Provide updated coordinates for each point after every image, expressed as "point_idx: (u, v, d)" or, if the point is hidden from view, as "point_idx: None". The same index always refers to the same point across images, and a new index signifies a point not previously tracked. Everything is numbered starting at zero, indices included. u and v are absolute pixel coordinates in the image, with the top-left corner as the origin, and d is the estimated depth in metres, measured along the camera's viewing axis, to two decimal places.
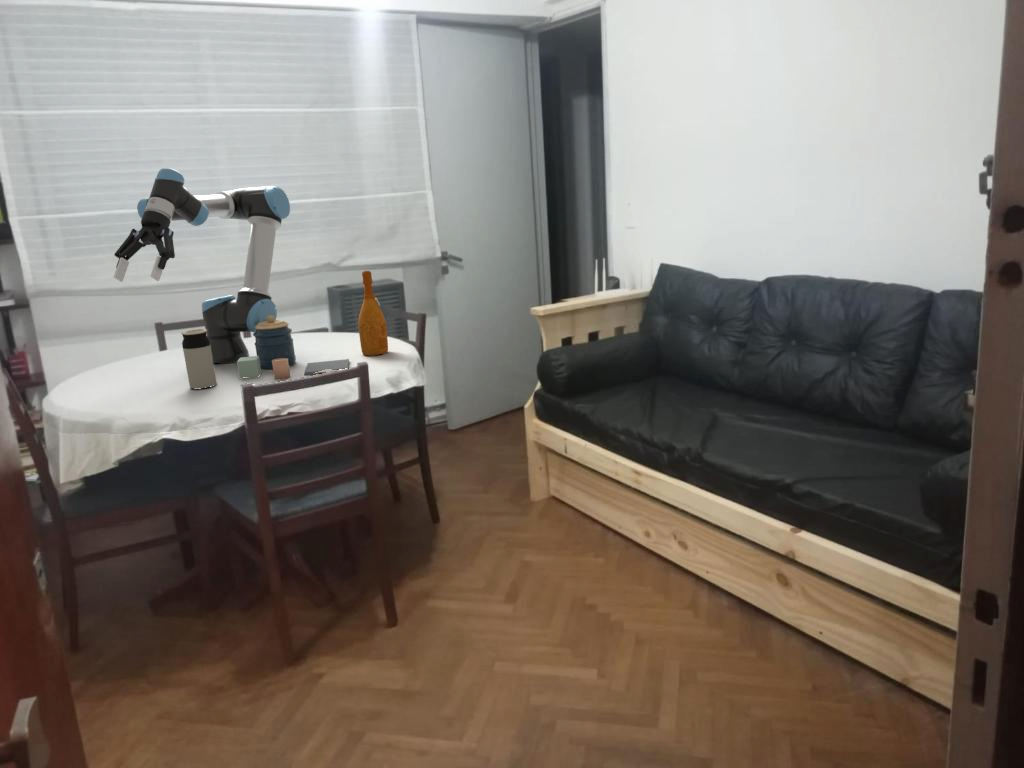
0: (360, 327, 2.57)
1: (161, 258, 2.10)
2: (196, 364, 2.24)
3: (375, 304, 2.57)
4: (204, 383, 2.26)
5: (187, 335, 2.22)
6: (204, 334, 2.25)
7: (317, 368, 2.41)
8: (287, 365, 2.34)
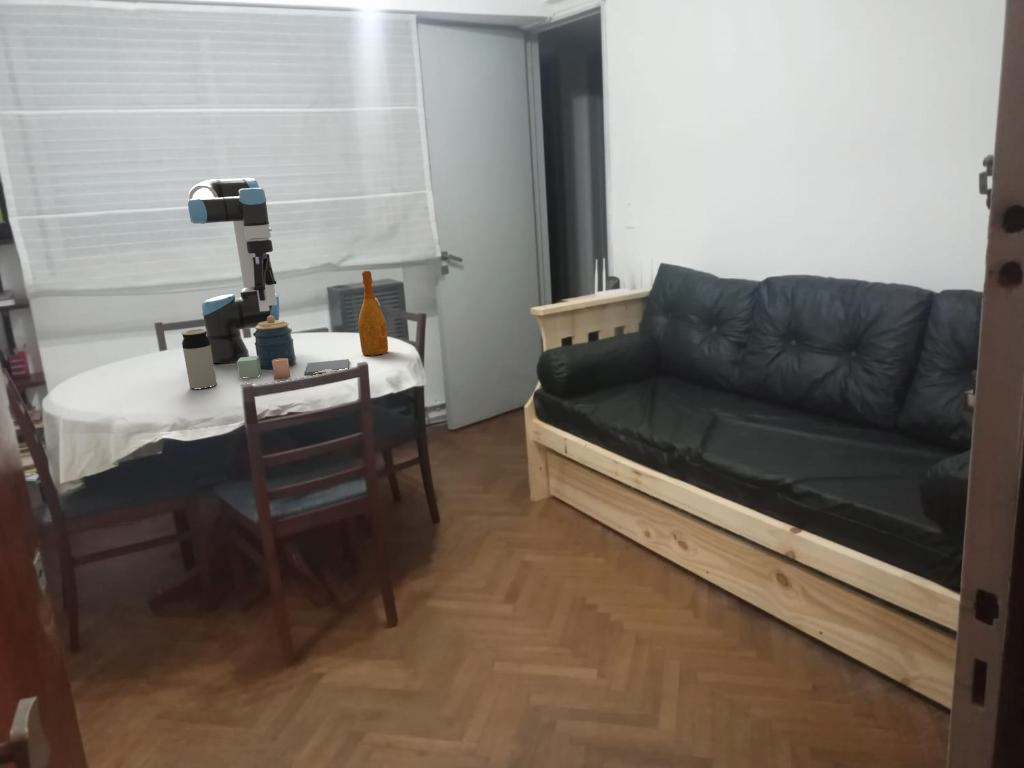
0: (360, 327, 2.57)
1: None
2: (196, 364, 2.24)
3: (375, 304, 2.57)
4: (204, 383, 2.26)
5: (187, 335, 2.22)
6: (204, 334, 2.25)
7: (317, 368, 2.41)
8: (287, 365, 2.34)
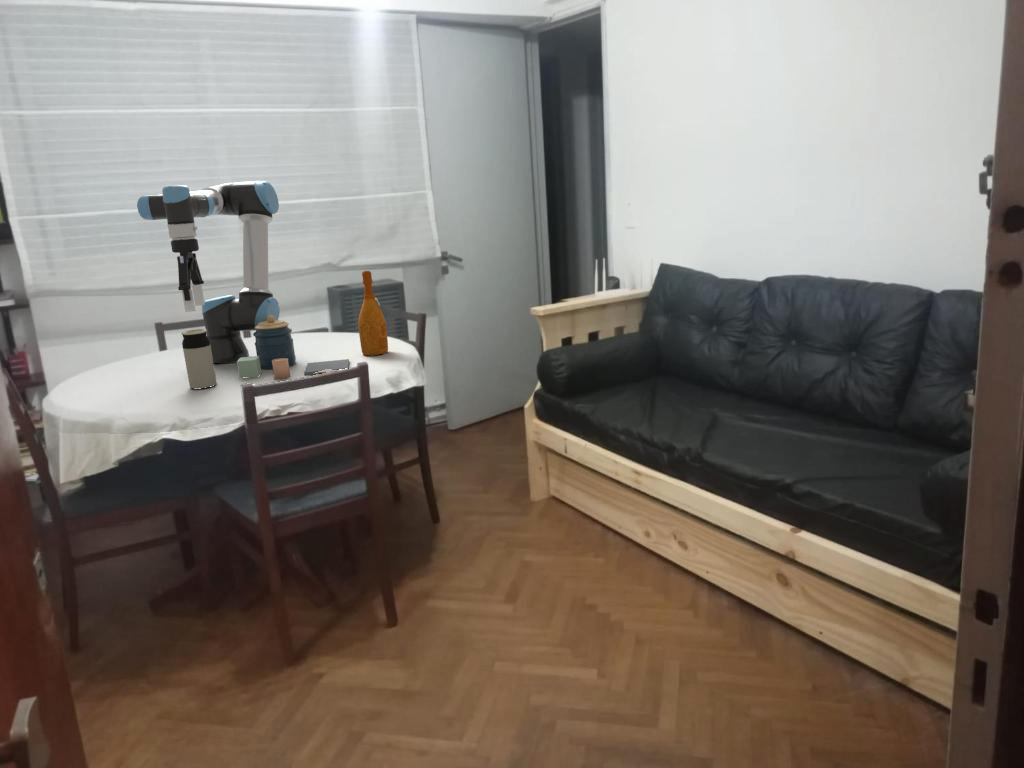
0: (360, 327, 2.57)
1: None
2: (196, 364, 2.24)
3: (375, 304, 2.57)
4: (204, 383, 2.26)
5: (187, 335, 2.22)
6: (204, 334, 2.25)
7: (317, 368, 2.41)
8: (287, 365, 2.34)
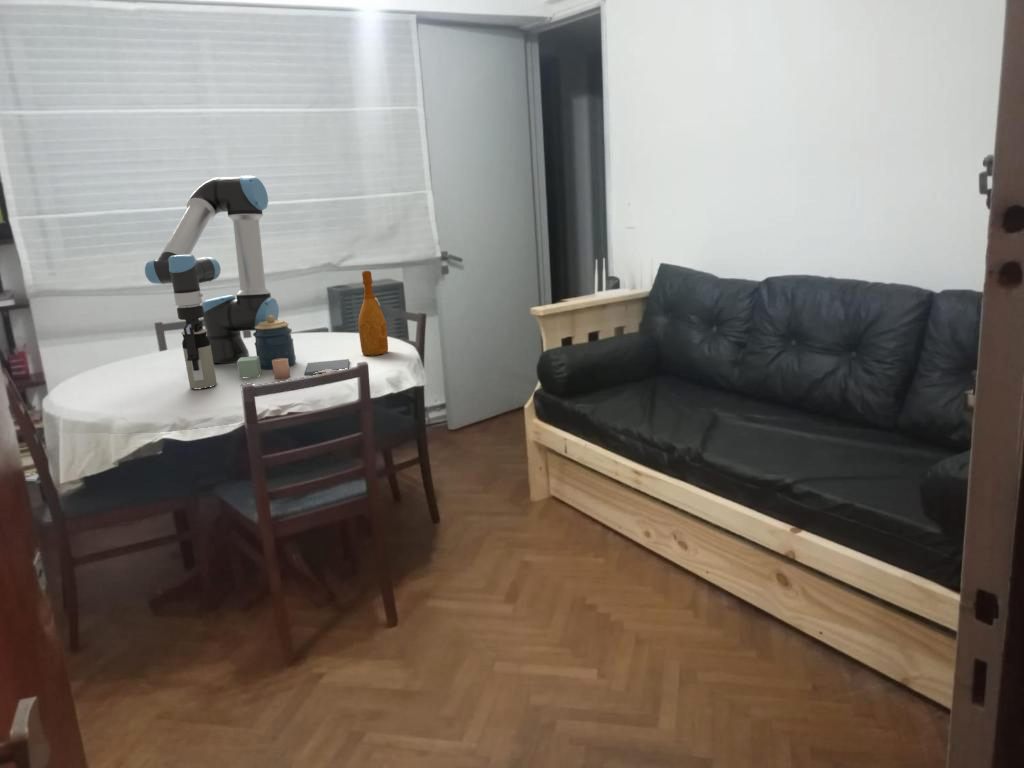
0: (360, 327, 2.57)
1: None
2: None
3: (375, 304, 2.57)
4: (204, 383, 2.26)
5: None
6: (204, 334, 2.25)
7: (317, 368, 2.41)
8: (287, 365, 2.34)
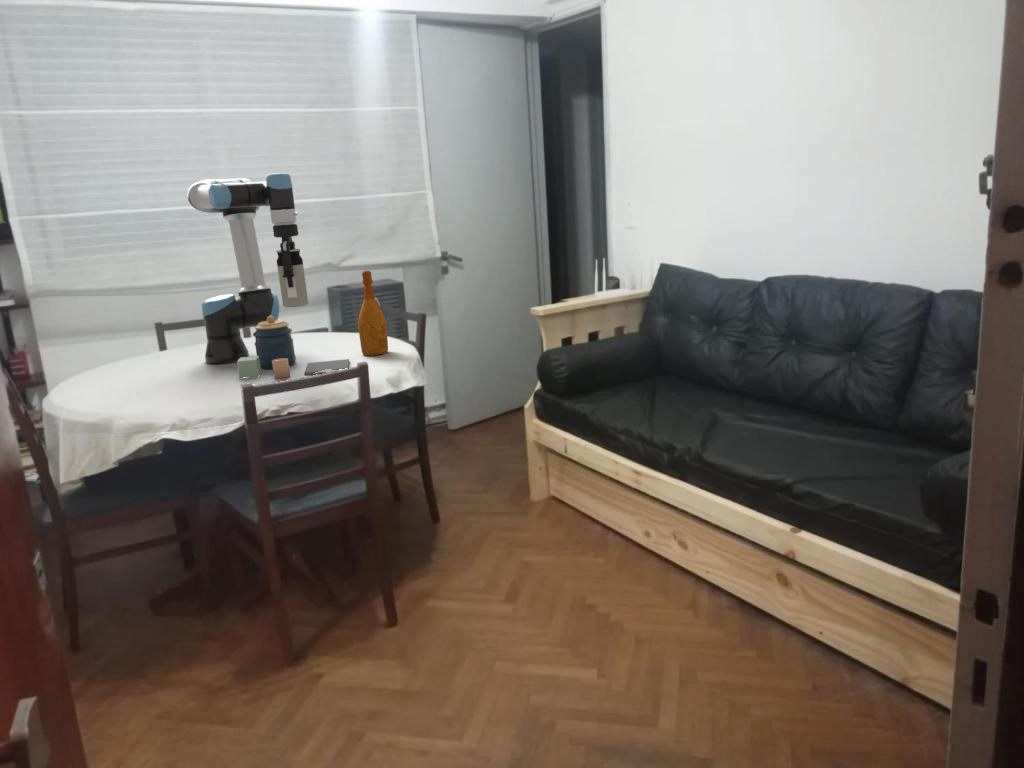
0: (360, 327, 2.57)
1: None
2: None
3: (375, 304, 2.57)
4: (297, 300, 2.32)
5: None
6: (298, 252, 2.30)
7: (317, 368, 2.41)
8: (287, 365, 2.34)
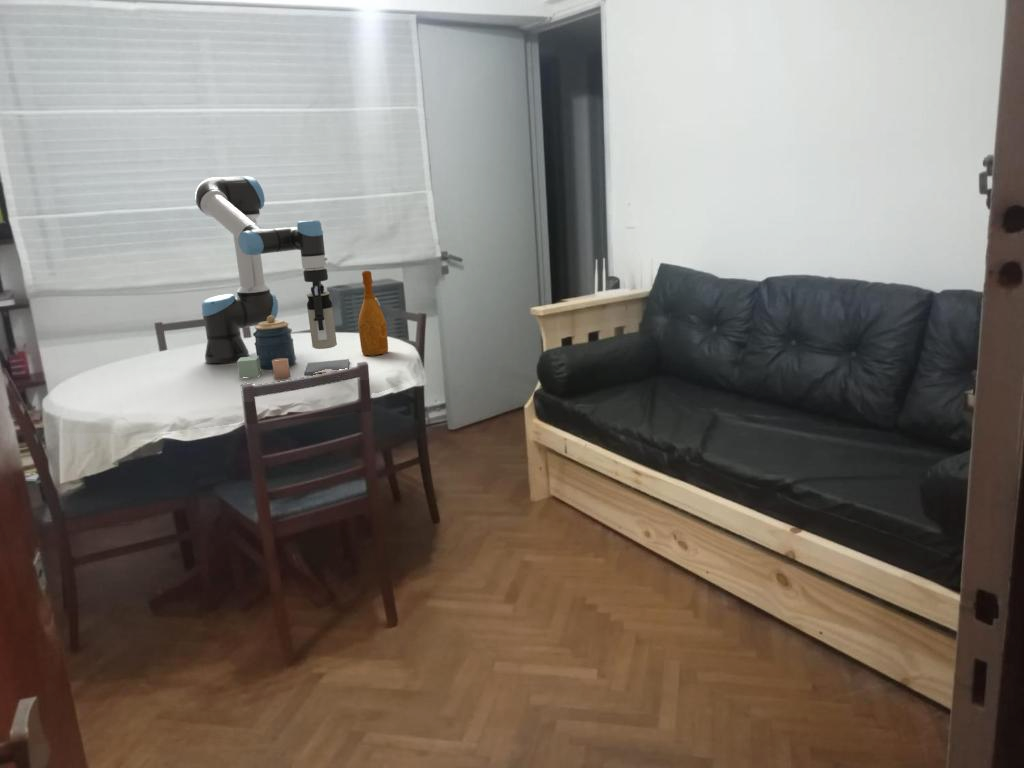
0: (360, 327, 2.57)
1: None
2: None
3: (375, 304, 2.57)
4: (327, 342, 2.39)
5: None
6: (328, 296, 2.38)
7: (317, 368, 2.41)
8: (287, 365, 2.34)
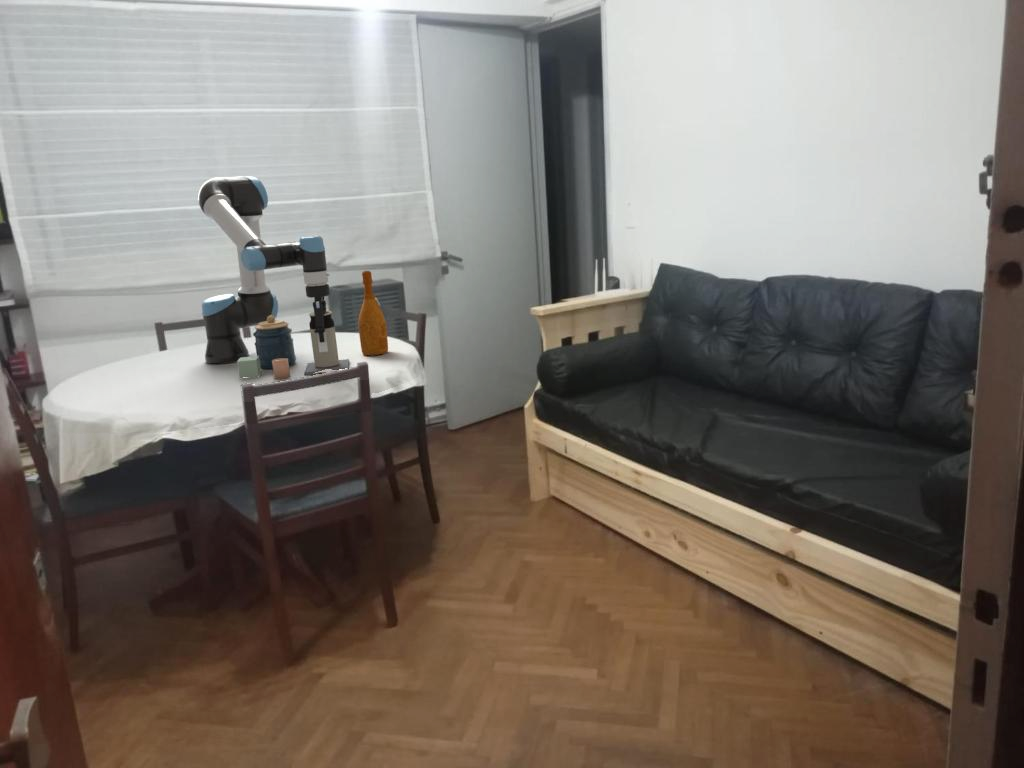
0: (360, 327, 2.57)
1: None
2: None
3: (375, 304, 2.57)
4: (330, 362, 2.41)
5: None
6: (330, 316, 2.39)
7: (317, 368, 2.41)
8: (287, 365, 2.34)
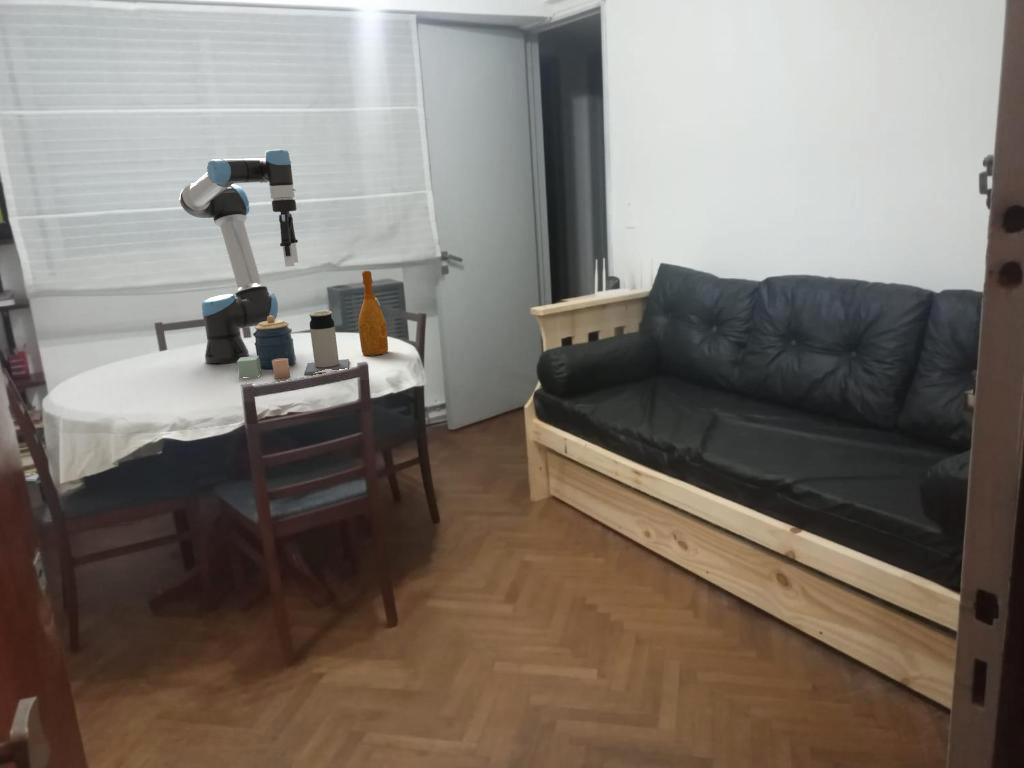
0: (360, 327, 2.57)
1: None
2: (323, 344, 2.38)
3: (375, 304, 2.57)
4: (330, 362, 2.41)
5: (316, 316, 2.36)
6: (330, 316, 2.39)
7: (317, 368, 2.41)
8: (287, 365, 2.34)
